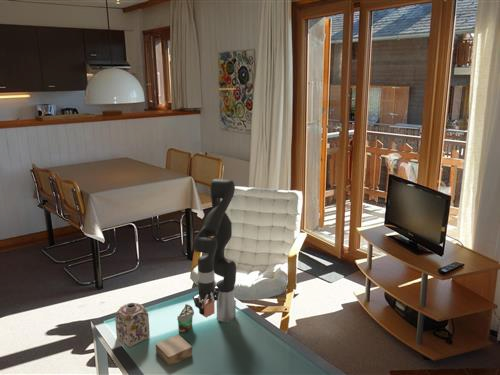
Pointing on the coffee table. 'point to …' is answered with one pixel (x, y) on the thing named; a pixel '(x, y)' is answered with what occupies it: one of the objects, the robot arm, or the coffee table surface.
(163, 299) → the coffee table surface
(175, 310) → the coffee table surface
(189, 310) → the food container
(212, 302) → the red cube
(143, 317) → the decorative jar
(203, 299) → the robot arm
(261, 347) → the coffee table surface
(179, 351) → the walnut block
